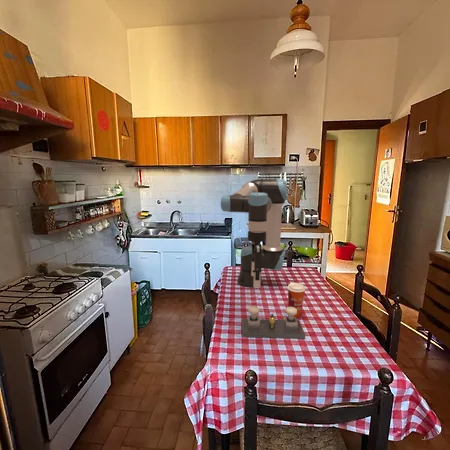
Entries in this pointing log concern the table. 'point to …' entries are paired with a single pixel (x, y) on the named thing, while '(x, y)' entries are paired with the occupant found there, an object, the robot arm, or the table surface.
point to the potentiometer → (272, 321)
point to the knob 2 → (291, 313)
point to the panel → (279, 331)
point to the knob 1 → (253, 312)
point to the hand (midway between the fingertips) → (255, 281)
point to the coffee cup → (296, 297)
